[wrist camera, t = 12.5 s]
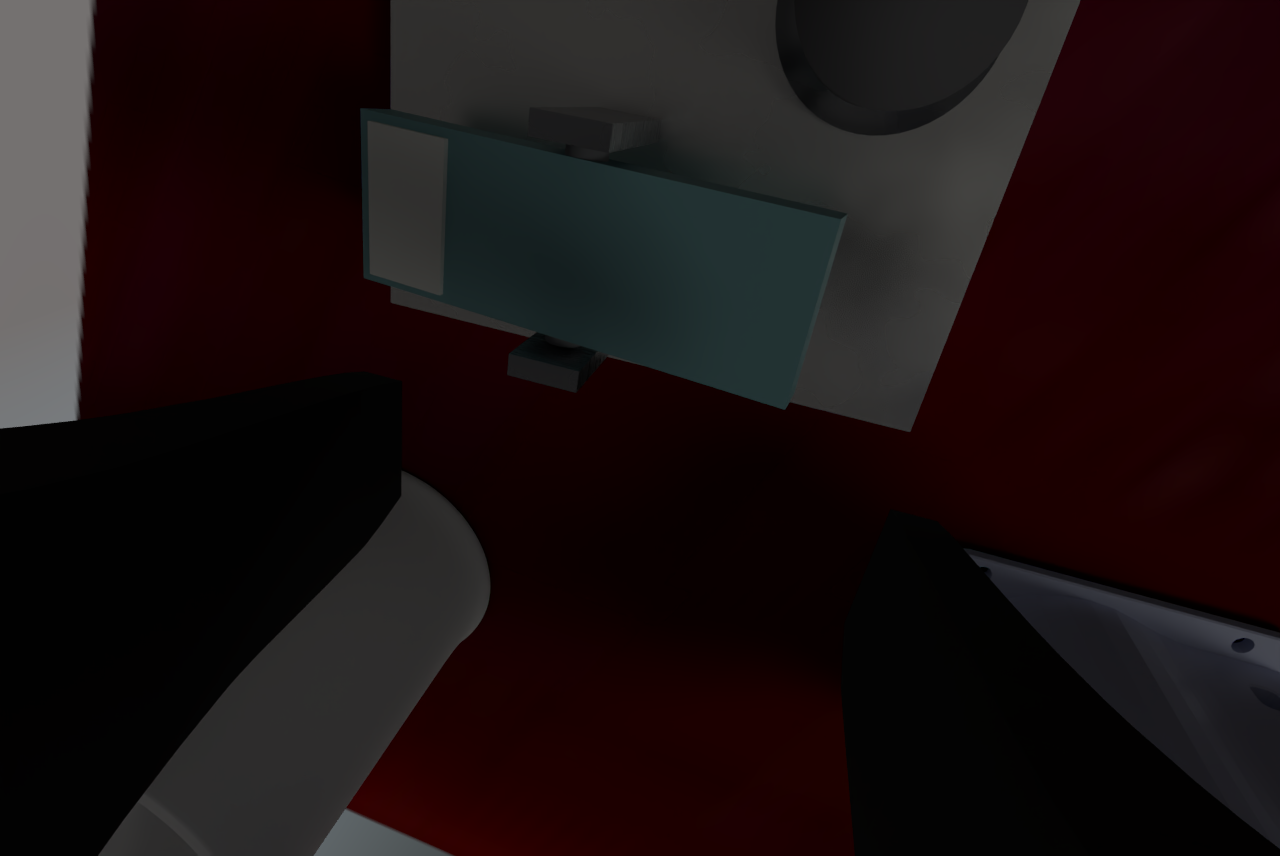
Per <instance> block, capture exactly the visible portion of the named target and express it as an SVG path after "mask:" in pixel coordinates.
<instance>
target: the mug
mask: <svg viewBox="0 0 1280 856" xmlns="http://www.w3.org/2000/svg"><path fill="white" fill-rule="evenodd" d="M489 596H490V574H489V568H488V564H487V560H486V557H485V554H484V551H483V549H482V547H481V544H480V542H479V540H478V538H477V536H476V535H475V533H474V531H473V530H472V528H471V527H470V525H469V524H468V522H467V521H466V520H465V518H464V517H463V516H462V515H461V513H460V512H459V511H458V510H457V509H456V508H455V507H454V506H453V505H452V504H451V503H450V502H449V501H448V500H447V499H446V498H445V497H444V496H443V495H441V494H440V493H439V492H438V491H436V490H435V489H434V488H432V487H431V486H429V485H428V484H427V483H425V482H423V481H422V480H420V479H418V478H417V477H415V476H413V475H411V474H409V473H407V472H405V471H402V470H401V497H400V499H399V500H398V501H397V503H396V504H395V506H394V507H393V509H392V510H391V511H390V513H389V514H388V516H387V517H386V519H385V520H384V521H383V523H382V524H381V525H380V527H379V528H378V529H377V531H376V532H375V533H374V535H373V536H372V537H371V539H370V540H369V541H368V542H367V544H366V545H365V546H364V547H363V548H362V549H361V551H360V552H359V553H358V554H357V555H356V556H355V557H354V558H353V559H352V560H351V561H350V562H349V563H348V564H347V565H346V566H345V567H344V568H343V569H342V570H341V571H340V572H339V573H338V574H337V575H336V576H335V577H334V578H333V580H332V581H331V582H330V583H329V584H328V585H327V586H326V587H325V588H324V589H323V590H322V591H321V592H320V593H319V594H318V595H317V596H316V597H315V598H314V599H313V600H312V601H311V602H310V603H309V604H308V605H307V606H306V607H305V608H304V609H303V610H302V611H301V612H300V613H299V614H298V615H297V616H296V617H295V618H294V619H293V620H292V621H291V622H290V623H289V624H288V625H287V626H286V627H285V628H284V629H283V630H282V631H281V632H280V633H279V634H278V635H277V636H276V637H275V638H274V639H273V640H272V641H271V642H270V643H269V644H268V645H267V646H266V647H265V648H264V649H263V650H262V651H261V652H260V653H259V654H258V655H257V656H256V657H255V658H254V659H253V660H252V661H251V662H250V664H249V665H248V666H247V667H246V668H245V669H244V670H243V671H242V672H241V673H240V674H239V676H238V677H237V678H236V679H235V680H234V681H233V682H232V683H231V684H230V686H229V687H228V688H227V689H226V690H225V692H224V693H223V694H222V695H221V697H220V698H219V699H218V700H217V701H216V703H215V704H214V705H213V706H212V708H211V709H210V710H209V711H208V713H207V714H206V715H205V716H204V717H203V719H202V720H201V721H200V722H199V724H198V725H197V726H196V727H195V729H194V730H193V731H192V732H191V733H190V735H189V736H188V737H187V738H186V740H185V741H184V742H183V743H182V745H181V746H180V747H179V748H178V750H177V751H176V752H175V754H174V755H173V756H172V757H171V759H170V760H169V761H168V763H167V764H166V765H165V767H164V768H163V769H162V771H161V772H160V773H159V774H158V776H157V777H156V778H155V780H154V781H153V782H152V784H151V785H150V786H149V787H148V789H147V790H146V791H145V793H144V794H143V795H142V797H141V798H140V799H139V801H138V802H137V803H136V804H135V806H134V807H133V808H132V810H131V811H130V812H129V814H128V815H127V816H126V817H125V819H124V820H123V822H122V823H121V824H120V826H119V827H118V829H117V830H116V831H115V833H114V834H113V836H112V837H111V838H110V840H109V841H108V843H107V844H106V845H105V847H104V848H103V849H102V851H101V852H100V854H99V855H98V856H313V855H314V854H315V853H316V851H317V850H318V848H319V847H320V845H321V844H322V842H323V841H324V839H325V838H326V836H327V835H328V833H329V832H330V830H331V829H332V828H333V826H334V825H335V823H336V822H337V820H338V819H339V817H340V816H341V814H342V813H343V811H344V810H345V808H346V807H347V805H348V804H349V803H350V801H351V800H352V798H353V797H354V795H355V794H356V792H357V791H358V789H359V788H360V786H361V785H362V783H363V782H364V780H365V779H366V778H367V776H368V775H369V773H370V772H371V770H372V769H373V767H374V766H375V764H376V763H377V761H378V760H379V758H380V757H381V755H382V754H383V752H384V751H385V750H386V748H387V747H388V745H389V744H390V742H391V741H392V739H393V738H394V736H395V735H396V733H397V732H398V730H399V729H400V727H401V726H402V725H403V723H404V722H405V720H406V719H407V717H408V716H409V714H410V713H411V711H412V710H413V708H414V707H415V705H416V704H417V702H418V701H419V700H420V698H421V697H422V695H423V694H424V692H425V691H426V689H427V688H428V686H429V685H430V683H431V682H432V680H433V679H434V678H435V676H436V675H437V673H438V672H439V670H440V669H441V667H442V666H443V664H444V663H445V662H446V660H447V659H448V657H449V656H450V655H451V653H452V652H453V651H454V649H455V648H456V647H457V646H458V644H459V643H460V642H462V641H463V640H464V639H465V638H467V637H468V636H469V635H470V634H471V633H472V632H473V631H474V630H475V628H476V627H477V626H478V624H479V623H480V621H481V620H482V618H483V616H484V614H485V611H486V609H487V606H488V602H489Z"/></svg>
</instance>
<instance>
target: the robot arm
mask: <svg viewBox="0 0 1280 856" xmlns="http://www.w3.org/2000/svg"><path fill="white" fill-rule="evenodd" d="M401 459H402V381H399V380H395V379H391V378H387V377H383V376H380V375H376V374H372V373H368V372H352V373H343V374H336V375H329V376H323V377H317V378H312V379H307V380H301V381H296V382H291V383H286V384H281V385H276V386H271V387H266V388H261V389H256V390H251V391H246V392H242V393H237V394H232V395H227V396H222V397H217V398H212V399H206V400H200V401H195V402H189V403H183V404H178V405H172V406H166V407H161V408H155V409H149V410H144V411H138V412H132V413H126V414H120V415H113V416H106V417H99V418H92V419H84V420H77V421H68V422H59V423H51V424H41V425H32V426H23V427H13V428H3V429H0V856H98V855H99V854H100V852H101V851H102V849H103V848H104V847H105V845H106V844H107V843H108V841H109V840H110V838H111V837H112V836H113V834H114V833H115V831H116V830H117V829H118V827H119V826H120V824H121V823H122V822H123V820H124V819H125V817H126V816H127V815H128V814H129V812H130V811H131V810H132V808H133V807H134V806H135V804H136V803H137V802H138V801H139V799H140V798H141V797H142V795H143V794H144V793H145V791H146V790H147V789H148V787H149V786H150V785H151V784H152V782H153V781H154V780H155V778H156V777H157V776H158V774H159V773H160V772H161V771H162V769H163V768H164V767H165V765H166V764H167V763H168V761H169V760H170V759H171V757H172V756H173V755H174V754H175V752H176V751H177V750H178V748H179V747H180V746H181V745H182V743H183V742H184V741H185V740H186V738H187V737H188V736H189V735H190V733H191V732H192V731H193V730H194V729H195V727H196V726H197V725H198V724H199V722H200V721H201V720H202V719H203V717H204V716H205V715H206V714H207V713H208V711H209V710H210V709H211V708H212V706H213V705H214V704H215V703H216V701H217V700H218V699H219V698H220V697H221V695H222V694H223V693H224V692H225V690H226V689H227V688H228V687H229V686H230V684H231V683H232V682H233V681H234V680H235V679H236V678H237V677H238V676H239V674H240V673H241V672H242V671H243V670H244V669H245V668H246V667H247V666H248V665H249V664H250V662H251V661H252V660H253V659H254V658H255V657H256V656H257V655H258V654H259V653H260V652H261V651H262V650H263V649H264V648H265V647H266V646H267V645H268V644H269V643H270V642H271V641H272V640H273V639H274V638H275V637H276V636H277V635H278V634H279V633H280V632H281V631H282V630H283V629H284V628H285V627H286V626H287V625H288V624H289V623H290V622H291V621H292V620H293V619H294V618H295V617H296V616H297V615H298V614H299V613H300V612H301V611H302V610H303V609H304V608H305V607H306V606H307V605H308V604H309V603H310V602H311V601H312V600H313V599H314V598H315V597H316V596H317V595H318V594H319V593H320V592H321V591H322V590H323V589H324V588H325V587H326V586H327V585H328V584H329V583H330V582H331V581H332V580H333V578H334V577H335V576H336V575H337V574H338V573H339V572H340V571H341V570H342V569H343V568H344V567H345V566H346V565H347V564H348V563H349V562H350V561H351V560H352V559H353V558H354V557H355V556H356V555H357V554H358V553H359V552H360V551H361V549H362V548H363V547H364V546H365V545H366V544H367V542H368V541H369V540H370V539H371V537H372V536H373V535H374V533H375V532H376V531H377V529H378V528H379V527H380V525H381V524H382V523H383V521H384V520H385V519H386V517H387V516H388V514H389V513H390V511H391V510H392V509H393V507H394V506H395V504H396V503H397V501H398V500H399V499H400V497H401ZM980 567H987V568H989V569H988V570H987V571H986V572H983V571H982V569H981V568H980ZM1240 638H1246V639H1244V640H1243V641H1242V642H1238V643H1233V642H1234V641H1235V640H1236V639H1240ZM841 692H842V707H843V719H844V732H845V745H846V756H847V768H848V779H849V791H850V802H851V814H852V826H853V837H854V849H855V856H1280V633H1279V632H1276V631H1272V630H1268V629H1265V628H1261V627H1257V626H1253V625H1250V624H1246V623H1242V622H1239V621H1235V620H1231V619H1227V618H1224V617H1220V616H1216V615H1213V614H1209V613H1205V612H1201V611H1198V610H1194V609H1190V608H1187V607H1183V606H1179V605H1175V604H1172V603H1168V602H1164V601H1161V600H1157V599H1153V598H1149V597H1146V596H1142V595H1138V594H1135V593H1131V592H1127V591H1123V590H1120V589H1116V588H1112V587H1109V586H1105V585H1101V584H1097V583H1094V582H1090V581H1086V580H1083V579H1079V578H1075V577H1071V576H1068V575H1064V574H1060V573H1057V572H1053V571H1049V570H1045V569H1042V568H1038V567H1034V566H1031V565H1027V564H1023V563H1019V562H1016V561H1012V560H1008V559H1005V558H1001V557H997V556H993V555H990V554H986V553H982V552H979V551H975V550H971V549H965V548H962V547H961V546H960V545H959V543H958V542H957V541H956V540H955V539H954V538H953V537H952V536H951V535H950V534H949V533H948V532H947V531H946V530H945V529H944V528H943V527H942V526H941V525H940V524H939V523H938V522H937V521H933V520H929V519H925V518H922V517H918V516H914V515H910V514H906V513H903V512H899V511H895V510H890V512H889V515H888V517H887V520H886V522H885V525H884V527H883V530H882V532H881V535H880V537H879V540H878V542H877V544H876V547H875V549H874V552H873V554H872V557H871V559H870V562H869V564H868V567H867V569H866V572H865V574H864V576H863V579H862V581H861V584H860V586H859V589H858V591H857V594H856V596H855V599H854V601H853V604H852V606H851V608H850V611H849V613H848V616H847V618H846V621H845V626H844V642H843V657H842V681H841Z"/></svg>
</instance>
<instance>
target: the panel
mask: <svg viewBox="0 0 1280 856" xmlns="http://www.w3.org/2000/svg"><path fill="white" fill-rule="evenodd" d="M1079 3H1080V0H1028V4H1027V6H1026V9H1025V11H1024V13H1023V16H1022V18H1021V20H1020V23H1019V24H1018V26H1017V28H1016V30H1015V32H1014V33H1013V35H1012V37H1011V39H1010V40H1009V41H1008V43H1007V44H1006V46H1005V47H1004V49H1003V50H1002V51H1001V53H1000V54H999V55H998V56H997V57H996V59H995V60H994V61H993V62H992V63H991V64H990V65H989V67H988V68H986V69H985V70H984V71H983V72H982V73H981V74H980V75H979V76H978V77H977V78H976V79H974V80H973V81H972V82H970V83H969V84H967V85H966V86H965V87H963V88H962V89H961V90H959V91H957V92H955V93H954V94H952V95H950V96H948V97H947V98H944V99H942V100H940V101H937V102H935V103H933V104H929V105H926V106H923V107H919V108H914V109H908V110H899V111H883V110H872V109H866V108H862V107H858V106H855V105H852V104H850V103H848V102H845V101H843V100H842V99H840V98H839V97H837V96H835V95H834V94H833V93H832V92H830V91H829V90H828V89H827V88H826V87H825V86H824V85H823V84H822V83H821V82H820V81H819V79H818V78H817V77H816V75H815V74H814V72H813V71H812V69H811V68H810V66H809V63H808V61H807V59H806V57H805V54H804V51H803V48H802V45H801V42H800V39H799V36H798V31H797V26H796V20H795V6H794V0H391V109H392V110H397V111H401V112H405V113H410V114H414V115H419V116H423V117H427V118H432V119H436V120H440V121H445V122H449V123H454V124H458V125H462V126H467V127H471V128H475V129H480V130H484V131H489V132H493V133H497V134H502V135H506V136H510V137H515V138H519V139H524V140H528V141H532V142H537V143H541V144H546V145H550V146H554V147H559V148H563V149H565V147H566V144H567V145H572V146H577V147H582V148H586V149H591V150H596V151H601V152H606V153H610V155H609V159H611V160H616V161H620V162H624V163H629V164H633V165H637V166H642V167H646V168H651V169H655V170H659V171H664V172H668V173H672V174H677V175H681V176H686V177H690V178H694V179H699V180H703V181H708V182H712V183H716V184H721V185H725V186H729V187H734V188H738V189H743V190H747V191H751V192H756V193H760V194H764V195H769V196H773V197H778V198H782V199H786V200H791V201H795V202H799V203H804V204H808V205H813V206H817V207H821V208H826V209H830V210H835V211H839V212H843V213H848V214H847V218H846V221H845V224H844V228H843V231H842V234H841V238H840V241H839V244H838V248H837V251H836V255H835V258H834V261H833V265H832V268H831V271H830V275H829V278H828V281H827V285H826V288H825V291H824V295H823V298H822V302H821V305H820V308H819V312H818V315H817V318H816V322H815V325H814V328H813V332H812V335H811V339H810V342H809V345H808V349H807V352H806V355H805V359H804V362H803V365H802V369H801V372H800V375H799V379H798V382H797V386H796V389H795V392H794V395H793V396H792V398H791V400H790V402H792V403H796V404H800V405H804V406H808V407H812V408H816V409H820V410H824V411H828V412H832V413H836V414H840V415H844V416H848V417H852V418H856V419H860V420H864V421H868V422H872V423H876V424H880V425H884V426H888V427H892V428H896V429H900V430H904V431H908V432H910V431H911V428H912V426H913V423H914V421H915V418H916V416H917V413H918V410H919V408H920V405H921V403H922V400H923V398H924V395H925V393H926V390H927V388H928V385H929V383H930V380H931V378H932V375H933V373H934V370H935V367H936V365H937V362H938V360H939V357H940V355H941V352H942V350H943V347H944V345H945V342H946V340H947V337H948V335H949V332H950V329H951V327H952V324H953V322H954V319H955V317H956V314H957V312H958V309H959V307H960V304H961V302H962V299H963V297H964V294H965V291H966V289H967V286H968V284H969V281H970V279H971V276H972V274H973V271H974V269H975V266H976V264H977V261H978V259H979V256H980V254H981V251H982V248H983V246H984V243H985V241H986V238H987V236H988V233H989V231H990V228H991V226H992V223H993V221H994V218H995V216H996V213H997V210H998V208H999V205H1000V203H1001V200H1002V198H1003V195H1004V193H1005V190H1006V188H1007V185H1008V183H1009V180H1010V178H1011V175H1012V172H1013V170H1014V167H1015V165H1016V162H1017V160H1018V157H1019V155H1020V152H1021V150H1022V147H1023V145H1024V142H1025V140H1026V137H1027V134H1028V132H1029V129H1030V127H1031V124H1032V122H1033V119H1034V117H1035V114H1036V112H1037V109H1038V107H1039V104H1040V102H1041V99H1042V97H1043V94H1044V91H1045V89H1046V86H1047V84H1048V81H1049V79H1050V76H1051V74H1052V71H1053V69H1054V66H1055V64H1056V61H1057V59H1058V56H1059V53H1060V51H1061V48H1062V46H1063V43H1064V41H1065V38H1066V36H1067V33H1068V31H1069V28H1070V26H1071V23H1072V21H1073V18H1074V15H1075V13H1076V10H1077V8H1078V5H1079ZM391 303H394V304H398V305H402V306H406V307H410V308H415V309H419V310H423V311H427V312H431V313H435V314H439V315H443V316H447V317H451V318H455V319H459V320H463V321H467V322H471V323H475V324H479V325H483V326H487V327H491V328H495V329H499V330H503V331H507V332H511V333H515V334H519V335H523V336H527V337H530V338H529V339H527V340H526V341H525V342H523V343H522V344H521V345H520V346H518V347H517V348H516V349H515V350H513V351H512V352H511V353H510V354H509V360H508V372H507V375H509V376H513V377H517V378H521V379H525V380H529V381H533V382H536V383H540V384H544V385H548V386H552V387H556V388H560V389H563V390H567V391H571V392H575V393H576V392H577V391H578V390H579V389H580V388H581V387H582V385H583V384H584V383H585V382H586V381H587V380H588V378H589V377H590V376H591V375H592V374H593V373H594V371H595V370H596V369H597V368H598V367H599V366H600V364H601V363H602V362H603V361H604V360H605V359H606V357H611V358H615V359H619V360H623V361H627V362H631V361H628V360H625V359H621V358H618V357H615V356H612V355H609V354H605V353H602V352H599V351H596V350H593V349H589V348H586V347H583V346H580V347H575V348H565V347H559V346H555V345H552V344H550V343H548V342H547V341H546V340H545V334H542V333H538V332H535V331H532V330H529V329H526V328H522V327H519V326H516V325H513V324H510V323H506V322H503V321H500V320H497V319H494V318H490V317H487V316H484V315H481V314H478V313H475V312H471V311H468V310H465V309H462V308H459V307H455V306H452V305H449V304H446V303H443V302H439V301H436V300H433V299H430V298H427V297H423V296H420V295H417V294H414V293H411V292H407V291H404V290H401V289H398V288H395V287H392V286H391ZM631 363H634V362H631ZM635 364H637V363H635ZM639 365H641V364H639ZM643 366H644V365H643Z"/></svg>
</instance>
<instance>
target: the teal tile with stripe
mask: <svg viewBox="0 0 1280 856" xmlns="http://www.w3.org/2000/svg"><path fill="white" fill-rule="evenodd" d="M360 109H361V160H362V212H363V263H364V278H366V279H369V280H372V281H376V282H379V283H382V284H385V285H388V286H392V287H395V288H398V289H401V290H404V291H407V292H411V293H414V294H417V295H420V296H423V297H427V298H430V299H433V300H436V301H439V302H443V303H446V304H449V305H452V306H455V307H459V308H462V309H465V310H468V311H471V312H475V313H478V314H481V315H484V316H487V317H490V318H494V319H497V320H500V321H503V322H506V323H510V324H513V325H516V326H519V327H522V328H526V329H529V330H532V331H535V332H538V333H542V334H545V340H546V341H547V342H548V343H550V344H552V345H555V346H559V347H565V348H575V347H580V346H583V347H586V348H589V349H593V350H596V351H599V352H602V353H605V354H609V355H612V356H615V357H618V358H621V359H625V360H628V361H631V362H634V363H637V364H641V365H644V366H647V367H650V368H653V369H656V370H660V371H663V372H666V373H669V374H672V375H676V376H679V377H682V378H685V379H688V380H692V381H695V382H698V383H701V384H704V385H708V386H711V387H714V388H717V389H720V390H724V391H727V392H730V393H733V394H736V395H739V396H743V397H746V398H749V399H752V400H755V401H759V402H762V403H765V404H768V405H771V406H775V407H778V408H781V409H784V410H785V409H786V407H787V405H788V404H789V402H790V400H791V398H792V396H793V395H794V392H795V389H796V386H797V382H798V379H799V375H800V372H801V369H802V365H803V362H804V359H805V355H806V352H807V349H808V345H809V342H810V339H811V335H812V332H813V328H814V325H815V322H816V318H817V315H818V312H819V308H820V305H821V302H822V298H823V295H824V291H825V288H826V285H827V281H828V278H829V275H830V271H831V268H832V265H833V261H834V258H835V255H836V251H837V248H838V244H839V241H840V238H841V234H842V231H843V228H844V224H845V221H846V218H847V214H848V213H843V212H839V211H835V210H830V209H826V208H821V207H817V206H813V205H808V204H804V203H799V202H795V201H791V200H786V199H782V198H778V197H773V196H769V195H764V194H760V193H756V192H751V191H747V190H743V189H738V188H734V187H729V186H725V185H721V184H716V183H712V182H708V181H703V180H699V179H694V178H690V177H686V176H681V175H677V174H672V173H668V172H664V171H659V170H655V169H651V168H646V167H642V166H637V165H633V164H629V163H624V162H620V161H616V160H611V159H609V155H610V153H606V152H601V151H596V150H591V149H586V148H582V147H577V146H572V145H567V144H566V147H565V149H563V148H559V147H554V146H550V145H546V144H541V143H537V142H532V141H528V140H524V139H519V138H515V137H510V136H506V135H502V134H497V133H493V132H489V131H484V130H480V129H475V128H471V127H467V126H462V125H458V124H454V123H449V122H445V121H440V120H436V119H432V118H427V117H423V116H419V115H414V114H410V113H405V112H401V111H397V110H392V109H367V108H360Z"/></svg>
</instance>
